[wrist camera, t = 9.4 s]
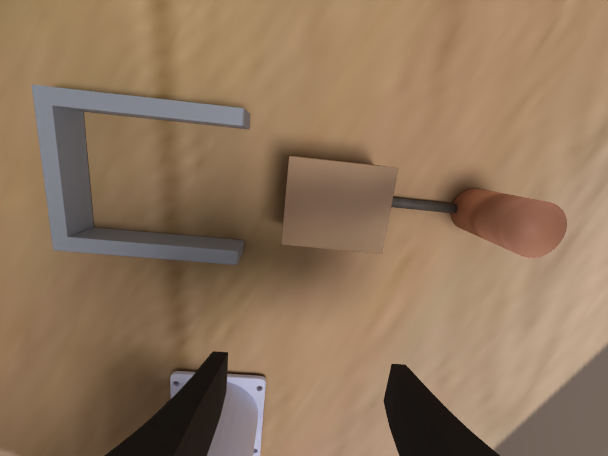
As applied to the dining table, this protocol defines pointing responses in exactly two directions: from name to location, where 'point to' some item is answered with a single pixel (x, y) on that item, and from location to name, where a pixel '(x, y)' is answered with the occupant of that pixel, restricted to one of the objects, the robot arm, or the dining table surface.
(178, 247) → the grey u-shaped bracket
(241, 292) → the dining table surface
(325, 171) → the tethered block
